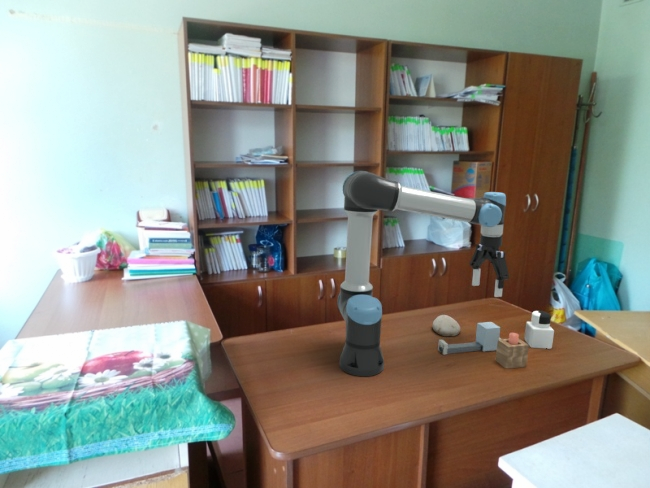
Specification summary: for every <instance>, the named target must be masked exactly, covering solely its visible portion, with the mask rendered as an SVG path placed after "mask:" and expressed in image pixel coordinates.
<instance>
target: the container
mask: <svg viewBox="0 0 650 488" xmlns="http://www.w3.org/2000/svg"><path fill="white" fill-rule="evenodd" d="M551 319H552V315H551V314H550V313H548V312H547V311H544V310H534V311H533V312H532V313H531V320H530V321H526V323H525V331H524V340H525V341H524V342H525V343H527V344H528V345H529V348H531V349H546V348H547V350H548V349H549V350H551V349H552V348H553V341H554V333H555V330H554V329H553V328H552V326H550V325H551V321H552V320H551Z"/></svg>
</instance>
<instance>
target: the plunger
mask: <svg viewBox="0 0 650 488" xmlns="http://www.w3.org/2000/svg"><path fill="white" fill-rule="evenodd" d="M519 337H520V335H519V333H518V332H513V331H512V332H510V333H509V335H508V339H509V342H508V343H509V344H511V345H518V339H520V338H519Z"/></svg>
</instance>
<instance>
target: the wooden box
mask: <svg viewBox="0 0 650 488" xmlns="http://www.w3.org/2000/svg"><path fill="white" fill-rule="evenodd" d="M508 342H509V338H501V339H500V340H498V343H497V350H495V351H496V353H495V362H497V363H498V364H499V365H500V366H502V367H503V368H504V369H506V370H507V369H514V368H515V369H517V368H524V367H525V368H526V367H527V364H528V357H529V356H528V354H529V348H530V346H529V344H528V343H527V342H526V341H523V340H522V339H520V338H519V339H518V345H511V344H509V343H508Z"/></svg>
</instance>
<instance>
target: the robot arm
mask: <svg viewBox="0 0 650 488" xmlns="http://www.w3.org/2000/svg"><path fill="white" fill-rule="evenodd" d="M342 193H343V196H344V199H343V200H344V201H343V203H344V204H343V211H344V212H345V213H346V215H347V228H346V229H347V231H346V234H347V235H346V249H345V250H346V251H345V252H346V253H345V254H346V255H345V271H344V273H345V274H344V281H342V283H340V288H339V294H338V296H337V308H338V310H339V312H340V314H341V317H342V318H343V320H344V322H345V343H344V346H343V348H342V352H341V353H340V356H339V368H340V369H341V370H342V371H343V372H345V373H347V374H350V375H352V376H358V377H372V376H376V375H378V374H380V373H382V372H383V371H384V370H385V369H384V368H385V359H384V354H383V351H382V349H381V334H382V333H381V332H382V331H381V330H382V316H383V309H382V307H383V305H382V303H381V301H380V300H379V299H378V298H377V297H375V296H374V297H373V292H374V291H373V290H374V289H373V288H374V287H373V284H371V282H370V267H371V266H370V265H371V253H372V252H371V251H372V236H373V235H372V234H373V233H372V232H373V219H374V218H373V217H374V215H375V214H377V213H378V211H386V212H394V211H396V210H399V211H404V212H410V213H416V214H420V215H425V216H426V215H428V216H431V217H436V218H442V219H449V220H454V221H459V222H464V223H470V224H473V225H479V226H480V234H481V235H480V237H479V244H476V246H475V251H474V253H473V255H472V257H471V260H470V262H469V267H471V268H472V281H471V286H473V287H475V286H477V287H478V286H480V283H481V282H480V279H481V266H482V265H483V264H484V262H485V261H486V260H487V261H489V263H490V264H491V265H492V267H493V270H494V272H495V276H496V278H495V282H494V283H495V285H494V292H493V293H494V295H493V296H494V297H495V298H499V297H500V298H501V297H503V289H504V286H505V285H504V284H505V281H506V280H509V279H510V276H509V271H508V264H507V261H506V251H500V247H502V245H503V236H502V235H503V234H504V223H505V216H506V215H505V213H506V206H507V196H506V193H504V192H498V191H497V192H496V191H489V192H484V194H483V197H480V198H478V197H473V198H472V197H470V198H469V197H468V198H467V197H460V196H454V195H450V194H444V193H440V192H435V191H431V190H424V189H421V188H420V189H419V188H415V187H410V186H404V185H401V183H399V181H395V180H391V179H387V178H384V177H382V176H380V175H377V174H375V173H373V172H369V171H365V170H357V171H354V172H352V173H349V174H348V176H347V177H346V178H345V179H344V181H343V184H342Z"/></svg>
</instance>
